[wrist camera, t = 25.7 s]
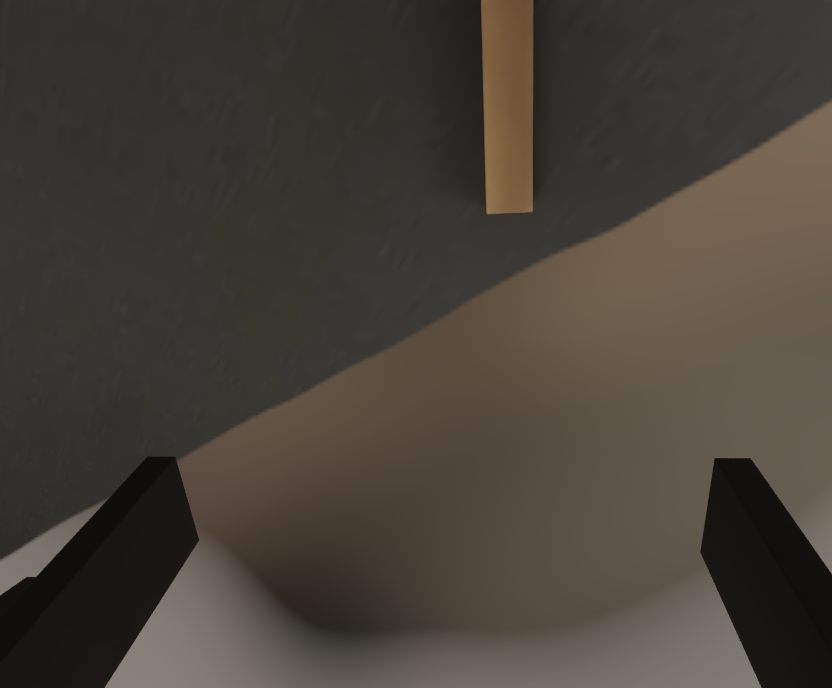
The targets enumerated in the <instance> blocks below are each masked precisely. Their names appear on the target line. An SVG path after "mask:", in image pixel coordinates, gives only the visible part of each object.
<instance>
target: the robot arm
mask: <svg viewBox="0 0 832 688" xmlns="http://www.w3.org/2000/svg"><path fill="white" fill-rule="evenodd" d="M198 541H199V538H198V535H197V531H196V528H195V524H194V521H193V517H192V514H191V510H190V507H189V503H188V500H187V497H186V493H185V489H184V486H183V482H182V479H181V475H180V472H179V468H178V465H177V461H176V458H175V457H147V458H146V459H145V460H144V461H143V462H142V463H141V464H140V465H139V466H138V468H137V469H136V470H135V471H134V472H133V473H132V474H131V475H130V476H129V477H128V478H127V479H126V481H125V482H124V483H123V484H122V485H121V486H120V487H119V488H118V489H117V490H116V491H115V492H114V494H113V495H112V496H111V497H110V498H109V499H108V500H107V501H106V502H105V503H104V504H103V505H102V507H101V508H100V509H99V510H98V511H97V512H96V513H95V514H94V515H93V516H92V517H91V518H90V519H89V521H88V522H87V523H86V524H85V525H84V526H83V527H82V528H81V529H80V530H79V532H77V533H76V535H75V536H74V537H73V538H72V539H71V540H70V541H69V542H68V543H67V544H66V545H65V546H64V548H63V549H62V550H61V551H60V552H59V553H58V554H57V555H56V556H55V557H54V558H53V559H52V561H51V562H50V563H49V564H48V565H47V566H46V567H45V568H44V569H43V570H42V571H41V572H40V574H39V575H38V576H37V577H26V578H25V579H23V580H22V581H21V582H19V583H17V584H16V585H15V586H13V587H12V588H11V589H9V590H7V591H6V592H5V593H3V594H2V595H0V688H105V686H106V684H107V683H108V681H109V680H110V678H111V677H112V675H113V673H114V672H115V670H116V669H117V667H118V666H119V664H120V663H121V661H122V660H123V658H124V656H125V655H126V653H127V652H128V650H129V649H130V647H131V646H132V644H133V642H134V641H135V639H136V638H137V636H138V635H139V633H140V631H141V630H142V628H143V627H144V625H145V624H146V622H147V621H148V619H149V618H150V616H151V614H152V613H153V611H154V610H155V608H156V607H157V605H158V604H159V602H160V600H161V599H162V597H163V596H164V594H165V592H166V591H167V589H168V588H169V586H170V585H171V583H172V582H173V580H174V579H175V577H176V575H177V574H178V572H179V571H180V569H181V568H182V566H183V564H184V563H185V561H186V560H187V558H188V557H189V555H190V554H191V552H192V550H193V549H194V547H195V546H196V544H197V543H198ZM701 554H702V557H703V559H704V561H705V563H706V566H707V568H708V570H709V572H710V574H711V577H712V579H713V581H714V583H715V585H716V588H717V590H718V592H719V594H720V597H721V599H722V601H723V603H724V605H725V608H726V610H727V612H728V614H729V617H730V619H731V621H732V623H733V625H734V628H735V630H736V632H737V634H738V636H739V639H740V641H741V643H742V645H743V647H744V650H745V652H746V654H747V656H748V659H749V661H750V663H751V665H752V667H753V670H754V672H755V674H756V676H757V679H758V681H759V683H760V685H761V687H762V688H832V574H831V572H830V571H829V569H828V568H827V567H826V565H825V564H824V562H823V561H822V560H821V558H820V557H819V555H818V554H817V552H816V551H815V550H814V548H813V547H812V545H811V544H810V542H809V541H808V540H807V538H806V537H805V535H804V534H803V532H802V531H801V530H800V528H799V527H798V525H797V524H796V522H795V521H794V520H793V518H792V517H791V515H790V514H789V512H788V511H787V510H786V508H785V507H784V505H783V504H782V502H781V501H780V500H779V498H778V497H777V495H776V494H775V492H774V491H773V490H772V488H771V487H770V485H769V484H768V482H767V481H766V480H765V478H764V477H763V475H762V474H761V473H760V471H759V470H758V468H757V467H756V466H755V464H754V462H753V461H752V460H751V459H750V458H715V459H714V466H713V473H712V480H711V486H710V492H709V500H708V506H707V513H706V520H705V525H704V532H703V539H702V545H701Z"/></svg>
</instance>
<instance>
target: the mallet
mask: <svg viewBox="0 0 832 688" xmlns="http://www.w3.org/2000/svg"><path fill="white" fill-rule="evenodd" d="M533 14H534V0H481V29H482V68H483V107H484V146H485V185H486V213H487V214H503V213H525V212H532V211H533Z"/></svg>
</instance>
